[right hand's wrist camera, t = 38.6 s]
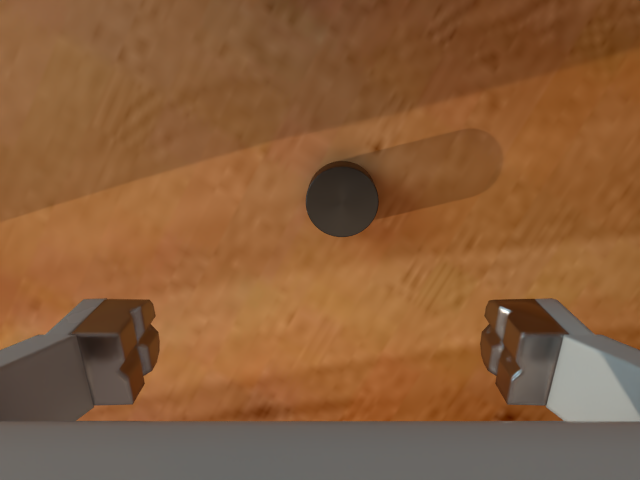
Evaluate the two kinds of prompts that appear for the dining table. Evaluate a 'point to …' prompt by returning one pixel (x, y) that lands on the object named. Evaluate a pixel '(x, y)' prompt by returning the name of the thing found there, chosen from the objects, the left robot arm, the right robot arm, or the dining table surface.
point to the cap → (342, 199)
